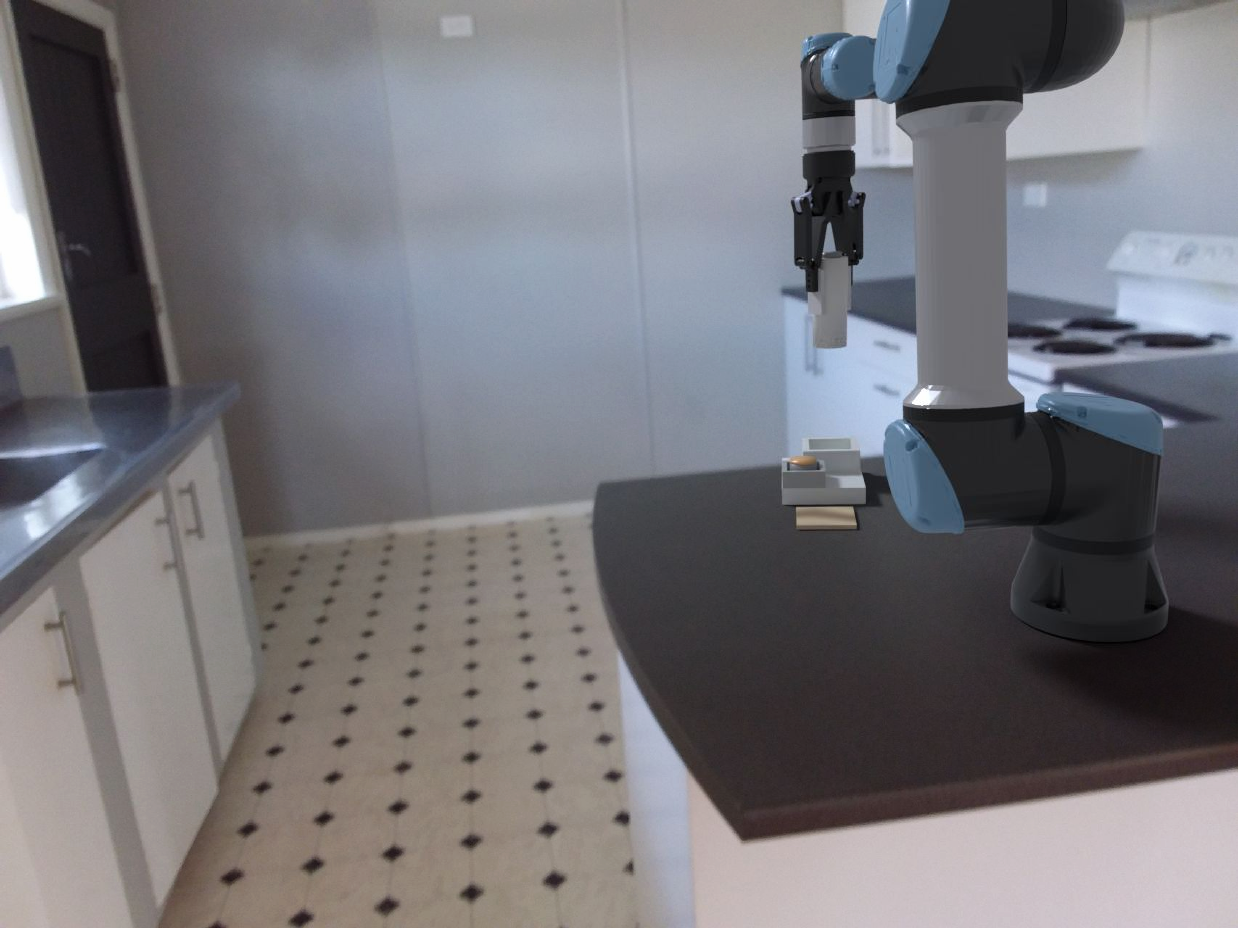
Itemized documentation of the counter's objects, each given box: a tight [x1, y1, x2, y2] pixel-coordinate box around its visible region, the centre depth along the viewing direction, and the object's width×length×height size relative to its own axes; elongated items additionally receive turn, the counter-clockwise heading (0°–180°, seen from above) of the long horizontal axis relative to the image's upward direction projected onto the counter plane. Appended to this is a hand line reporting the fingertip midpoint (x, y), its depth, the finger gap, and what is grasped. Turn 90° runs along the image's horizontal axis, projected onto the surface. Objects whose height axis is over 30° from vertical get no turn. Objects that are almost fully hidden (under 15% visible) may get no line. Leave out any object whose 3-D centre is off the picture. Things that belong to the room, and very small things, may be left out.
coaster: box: [795, 506, 858, 531], centre depth 140 cm, size 8×8×1 cm
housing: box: [781, 436, 867, 506], centre depth 154 cm, size 17×12×6 cm
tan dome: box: [789, 455, 817, 471], centre depth 150 cm, size 4×4×3 cm
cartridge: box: [812, 250, 848, 350], centre depth 151 cm, size 5×5×14 cm
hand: (829, 311), depth 151 cm, fingers closed on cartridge, 5 cm apart
